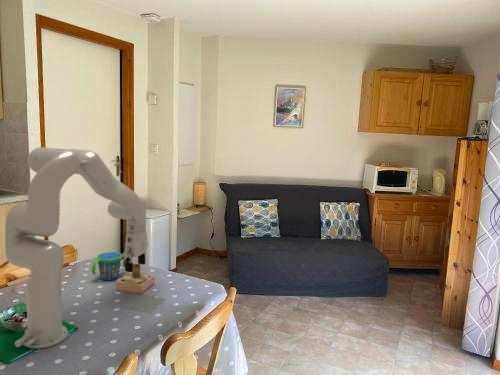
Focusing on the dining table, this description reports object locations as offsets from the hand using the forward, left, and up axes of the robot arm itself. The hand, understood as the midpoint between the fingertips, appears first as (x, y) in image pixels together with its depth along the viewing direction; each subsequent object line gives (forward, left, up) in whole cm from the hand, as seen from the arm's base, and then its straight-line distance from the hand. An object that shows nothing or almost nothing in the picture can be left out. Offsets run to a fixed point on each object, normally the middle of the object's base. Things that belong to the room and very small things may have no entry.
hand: (135, 267), depth 157 cm
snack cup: (+6, +16, -9) cm, 19 cm away
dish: (+1, 0, -9) cm, 9 cm away
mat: (-11, -11, -9) cm, 18 cm away
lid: (0, 0, -5) cm, 5 cm away
